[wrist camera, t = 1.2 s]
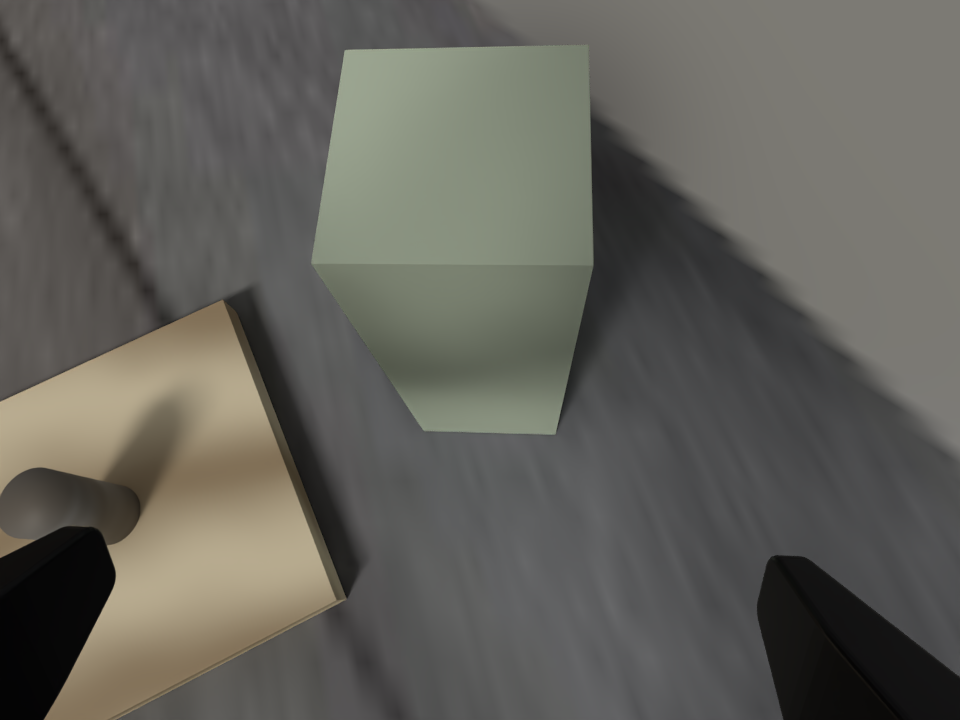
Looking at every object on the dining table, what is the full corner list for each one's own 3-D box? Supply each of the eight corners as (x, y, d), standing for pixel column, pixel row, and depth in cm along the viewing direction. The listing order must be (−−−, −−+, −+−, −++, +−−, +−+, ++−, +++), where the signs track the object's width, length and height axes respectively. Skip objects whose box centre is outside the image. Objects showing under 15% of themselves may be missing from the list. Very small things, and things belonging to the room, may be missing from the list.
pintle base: (346, 599, 20) (296, 605, 16) (1, 779, 19) (-160, 841, 15) (236, 312, 24) (171, 252, 20) (-54, 447, 23) (-194, 415, 19)
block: (555, 434, 22) (593, 265, 10) (423, 430, 22) (311, 263, 10) (555, 313, 23) (588, 44, 12) (433, 311, 24) (344, 49, 12)
